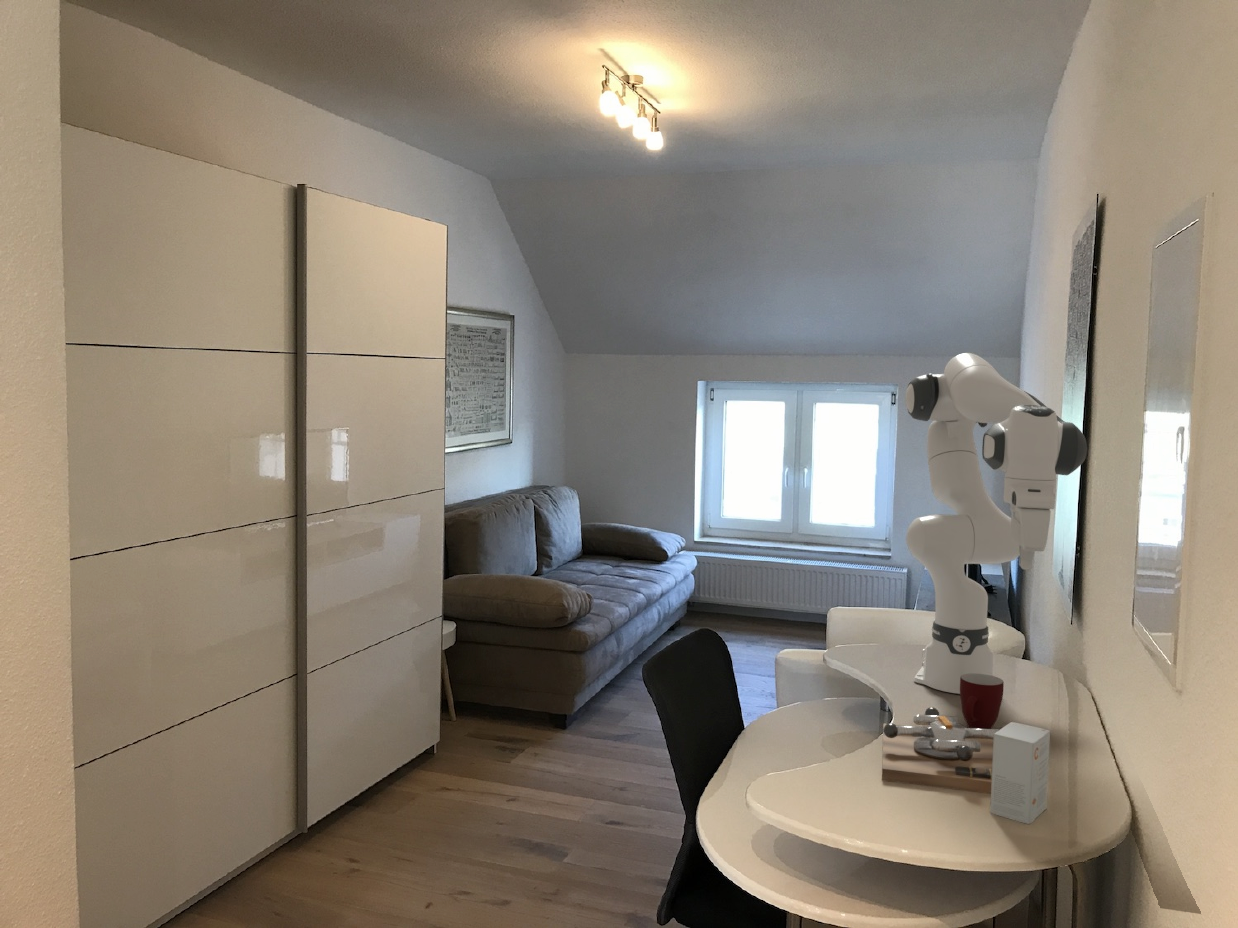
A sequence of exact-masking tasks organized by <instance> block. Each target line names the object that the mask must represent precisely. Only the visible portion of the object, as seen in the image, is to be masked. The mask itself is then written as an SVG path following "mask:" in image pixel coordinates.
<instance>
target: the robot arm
mask: <svg viewBox="0 0 1238 928" xmlns="http://www.w3.org/2000/svg"><path fill="white" fill-rule="evenodd" d="M904 399H905V400H904V401H905V406H906V408H907V412H908V414H909V416H910V417H912V419H914V420H917V421H922V422H928V421H932V422H931V423H930V424H929V426H928V428H927V434H926V435H927V439H926V454H927V455H926V457H927V465H928V471H929V472H928V473H929V478H930V484H931V487H930V488H931V492H932V493H933V496H934V497H935V498H936V499H937V500H938V501H939V502H940V503H941V504H944V505H946V506H948V507H950V508H951V509H952V510H953V511H954V512H955V513H956V514H937V513H934V514H930V515H924V516H920V517H916V518H914V519H913V520H912V522H911V523H910V524H909V526H908V527H907V531H906V546H907V548H908V551H909V553H910V554H911V556H912V557H913V558H914V559H916V560H917V561H918V562H919V563H920V564H921V565H923V567H925V569H926V570H927V572H928V573H929V576H930V577H931V580H932V583H933V588H934V597H935V598H934V599H935V601H934V603H935V613H934V614H935V615H934V621H932V627H931V630H932V631H931V636H932V640H931V641H930V643H927V645H926V646H925V648H923V649H922V651H921V653H922V654H921V658H922V659H923V661H922V663H921V668H920V669H918V671H917V673H916V674H915V676H914V679H913V681H914V683H917V684H921V685H925V686H927V687H930V688H931V689H935V690H938V691H942V692H946V693H951V694H958V695H960V677H961V676H962V675H964V674H971V673H975V674H986V675H991V676H995V652H994V651H992V649H991V648H990V647H989V646H988V642H989V636H990V635H989V634H990V632H989V626H988V624H987V623H988V605H989V596H988V592H987V591H986V590H987V589H985V588H984V586H982V585H981V584H980V583H978V582H977V581H975V580H974V579H972V578H970V577H968V576H967V575H966V572H965V565H967V564H969V565H973V564H974V565H998V564H1002V563H1009V562H1013V561H1016V559H1018V557H1019V559H1018V560H1019V561H1018V562H1019V563H1018V566H1019V567H1020V568H1021V569H1022V570H1027V571H1029V570H1032V567H1033V558H1034V554H1035V552H1044V551H1045V549H1046V547H1047V543H1048V536H1049V528H1050V524H1051V523H1050V522H1051V510H1055V506H1056V495H1057V494H1056V492H1057V479H1058V478H1057V475H1060V476H1069V475H1070V474H1072V473H1073V472H1074V471H1076V470H1077V469H1078V468H1079V467H1081V466H1082V465H1083V463H1084V462H1085V460H1086V458H1087V453H1088V446H1087V445H1088V444H1087V439H1086V437H1085V435H1084V433H1083V432H1082V431H1081V429H1080V428H1079V427H1078V426H1077V425H1076V424H1074V423H1073V422H1070V421H1069V422H1068V421H1065V420H1063V419H1062V418H1060V417H1059V416H1058V415H1057V414H1056V411H1055V410H1053V409H1052V408H1050V407H1048V406H1046V405H1045V404H1044V403H1043V402H1042V401H1040V400H1039V399H1038V398H1037V397H1036V396H1034V395H1032V394H1030V393H1028V392H1027V391H1026V390H1023V389H1021V388H1019V387H1017V386H1016V385H1014V384H1012V383H1011V382H1010V381H1009V380H1006V379H1005V378H1004V377H1003V376H1001V375H1000V373H998V371H997V369H995V367H993V366H992V364H991V363H989V362H988V361H987V360H985V359H984V358H982V357H981V356H980V355H978V354H975V353H972V352H964V353H960V354H957V355H956V356H953V357H952V358H951V359H950V360H949V361H948V362H947V363H946V365H945V368H944V370H943V373H936V374H935V373H934V374H933V373H932V372H931V373H927V374H923V375H919V376H916V377H914V378H913V379H911V380H910V382H909V383H908V385H907V388H906V391H905V397H904ZM976 424H978V426H979V427H980V428H986V427H987V426H988V424H992V425H991V426H990V427H989V428H988V429H987V430H986V431H985V433H984V434H983V437H982V449H981V450H982V459H983V461H984V462H985V463H986V464H987V465H988V466H989V467H990V468H991V469H993V470H996V471H998V472H1005V473H1004V483H1003V485H1004V487H1003V498H1002V499H1003V502H1004V503H1008V504H1009V505H1010V507H1009V511H1010V512H1011V517H1010V516H1009V515H1007V514H1006V513H1005V512H1003V511H1002V510H1001V509H1000V508H999V507H998V506H997V504H995V502H994V501H993V500H992V499H991V498H992V497H990V496H989V493H988V491H987V490H986V487H985V485H984V481H983V477H982V474H981V468H980V462H979V457H978V451H977V446H976V443H975V438H974V429H975V425H976Z"/></svg>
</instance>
